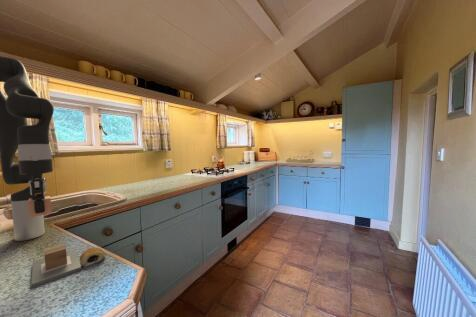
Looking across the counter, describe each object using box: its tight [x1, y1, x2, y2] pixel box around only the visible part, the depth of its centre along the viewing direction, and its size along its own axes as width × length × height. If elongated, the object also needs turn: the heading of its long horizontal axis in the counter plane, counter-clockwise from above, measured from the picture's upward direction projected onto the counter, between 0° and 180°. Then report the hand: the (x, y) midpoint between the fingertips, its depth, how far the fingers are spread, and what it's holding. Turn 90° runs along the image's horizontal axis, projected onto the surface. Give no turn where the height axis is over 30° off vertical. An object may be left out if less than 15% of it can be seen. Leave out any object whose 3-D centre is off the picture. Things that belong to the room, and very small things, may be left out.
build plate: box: [30, 249, 82, 289], centre depth 64 cm, size 16×11×1 cm
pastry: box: [79, 247, 106, 268], centre depth 69 cm, size 9×7×4 cm
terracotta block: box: [28, 195, 52, 218], centre depth 64 cm, size 5×5×5 cm
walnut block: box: [43, 243, 67, 270], centre depth 64 cm, size 5×5×5 cm
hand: (40, 210), depth 64 cm, fingers closed on terracotta block, 5 cm apart
